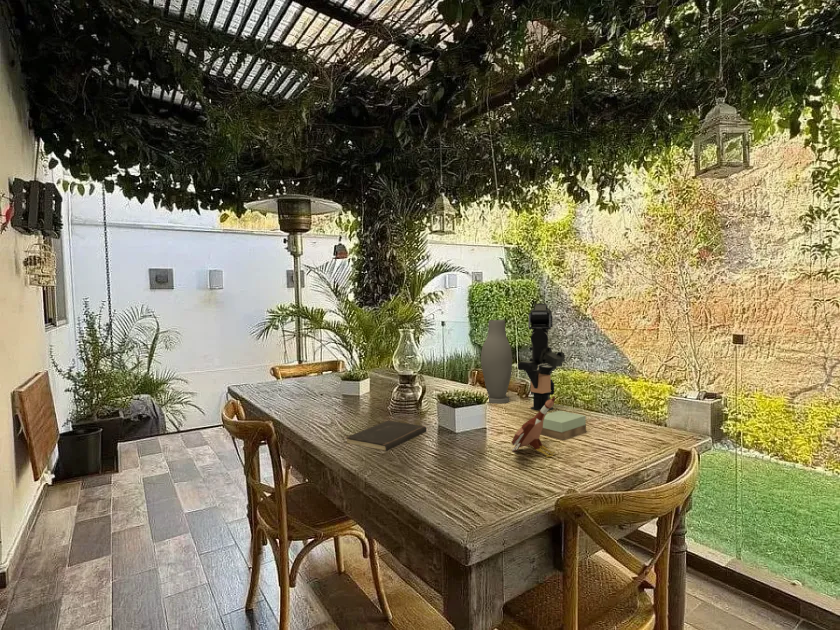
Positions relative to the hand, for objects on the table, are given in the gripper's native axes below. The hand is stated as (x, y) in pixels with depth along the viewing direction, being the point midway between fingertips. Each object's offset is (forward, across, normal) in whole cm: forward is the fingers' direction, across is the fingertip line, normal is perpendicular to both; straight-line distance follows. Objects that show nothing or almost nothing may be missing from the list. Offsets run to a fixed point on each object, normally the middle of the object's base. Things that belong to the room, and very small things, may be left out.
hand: (540, 387), depth 169 cm
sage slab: (+10, -8, -14) cm, 19 cm away
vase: (+12, +12, +32) cm, 36 cm away
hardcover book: (+13, -53, +21) cm, 59 cm away
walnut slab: (+13, -8, -14) cm, 20 cm away
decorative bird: (+12, -31, -21) cm, 39 cm away
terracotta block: (+2, 0, 0) cm, 2 cm away
